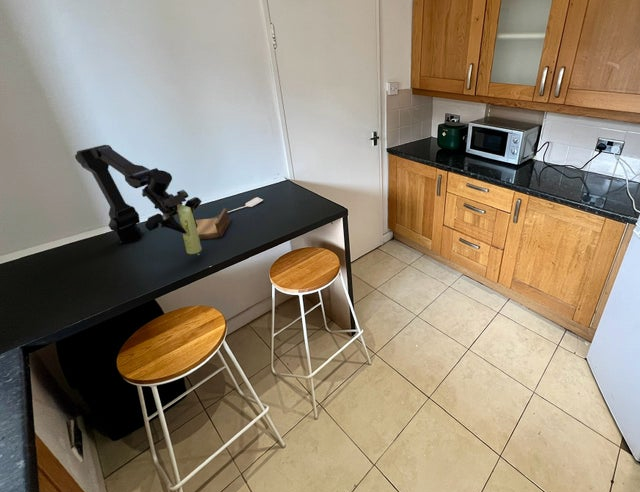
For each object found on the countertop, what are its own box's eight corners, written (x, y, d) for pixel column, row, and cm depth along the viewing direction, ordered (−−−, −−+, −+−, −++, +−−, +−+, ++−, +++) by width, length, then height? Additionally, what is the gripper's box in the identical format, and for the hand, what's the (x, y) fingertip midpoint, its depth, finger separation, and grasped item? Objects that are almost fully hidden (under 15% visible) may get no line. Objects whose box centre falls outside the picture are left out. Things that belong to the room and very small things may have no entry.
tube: (183, 255, 116) (171, 208, 108) (187, 248, 121) (176, 202, 112) (200, 254, 118) (190, 207, 110) (203, 246, 122) (194, 201, 114)
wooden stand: (186, 240, 132) (180, 226, 129) (197, 224, 145) (193, 211, 141) (222, 237, 135) (217, 223, 132) (230, 221, 147) (226, 208, 144)
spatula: (264, 202, 166) (263, 199, 165) (207, 225, 144) (206, 222, 143) (257, 199, 169) (256, 196, 168) (200, 221, 147) (199, 218, 147)
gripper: (138, 197, 101) (173, 232, 103) (191, 177, 117) (220, 208, 118) (131, 213, 107) (164, 247, 109) (182, 192, 123) (210, 222, 124)
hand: (191, 230), depth 115 cm, fingers closed on tube, 4 cm apart
